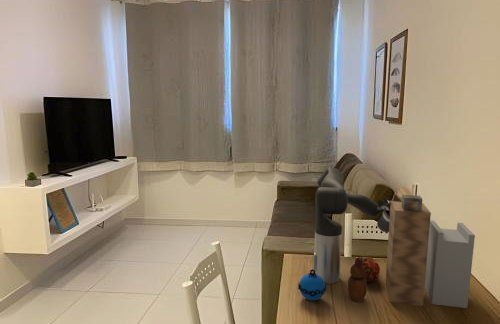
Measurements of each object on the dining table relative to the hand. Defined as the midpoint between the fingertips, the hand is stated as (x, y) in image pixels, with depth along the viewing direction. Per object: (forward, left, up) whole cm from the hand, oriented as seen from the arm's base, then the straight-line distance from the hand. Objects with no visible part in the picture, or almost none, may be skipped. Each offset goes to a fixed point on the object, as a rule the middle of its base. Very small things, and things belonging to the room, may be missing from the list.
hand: (399, 201), depth 138 cm
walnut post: (0, -21, -26) cm, 34 cm away
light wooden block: (0, -16, +4) cm, 17 cm away
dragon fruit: (-11, -12, -27) cm, 31 cm away
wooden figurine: (-15, -27, -26) cm, 41 cm away
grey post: (+13, -19, -26) cm, 35 cm away
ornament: (-29, -31, -26) cm, 50 cm away
